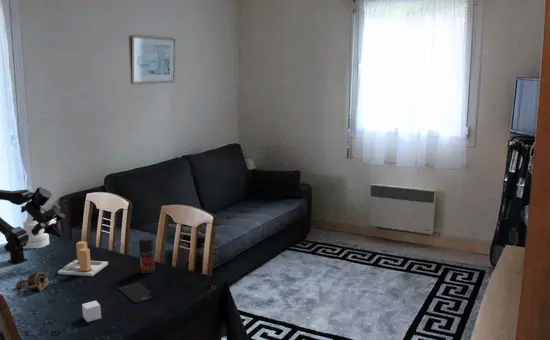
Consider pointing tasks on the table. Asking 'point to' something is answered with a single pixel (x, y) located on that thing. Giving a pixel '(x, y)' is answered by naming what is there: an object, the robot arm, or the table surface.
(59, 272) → the switch bank
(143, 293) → the cell phone
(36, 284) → the brown ringed piece
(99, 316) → the white cube
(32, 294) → the table surface
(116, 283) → the table surface
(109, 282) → the table surface
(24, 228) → the honey pot
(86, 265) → the tab
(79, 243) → the tab
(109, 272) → the table surface
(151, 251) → the deodorant
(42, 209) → the robot arm
